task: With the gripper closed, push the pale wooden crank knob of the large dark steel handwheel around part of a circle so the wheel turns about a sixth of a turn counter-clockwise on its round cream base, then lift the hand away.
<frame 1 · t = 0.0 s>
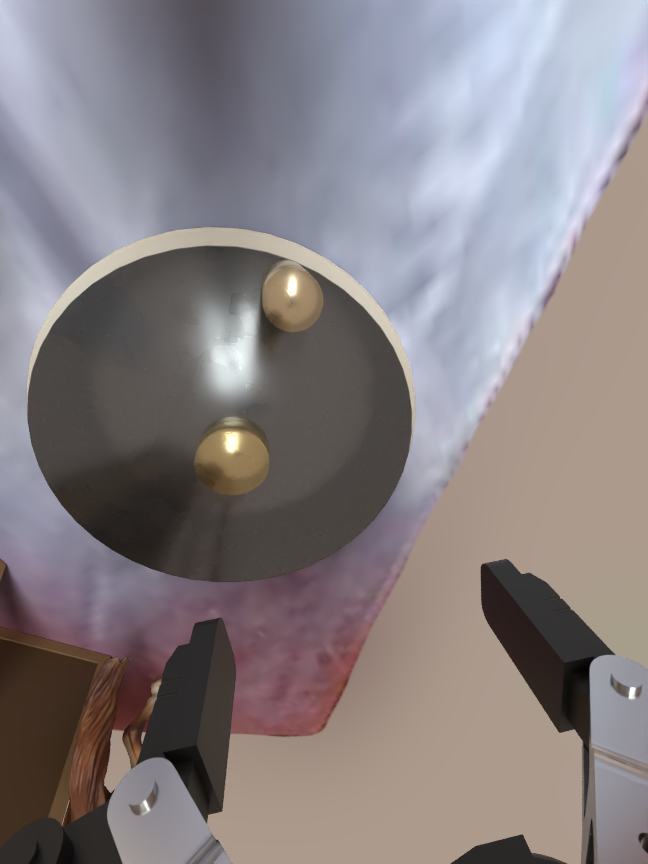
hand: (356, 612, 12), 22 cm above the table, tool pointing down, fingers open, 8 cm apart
handwheel: (232, 463, 28), point 6 cm above the table, hinge at 0.0°
photo frame: (12, 604, 39), on the table
base plate: (237, 424, 33), on the table
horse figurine: (186, 689, 48), on the table
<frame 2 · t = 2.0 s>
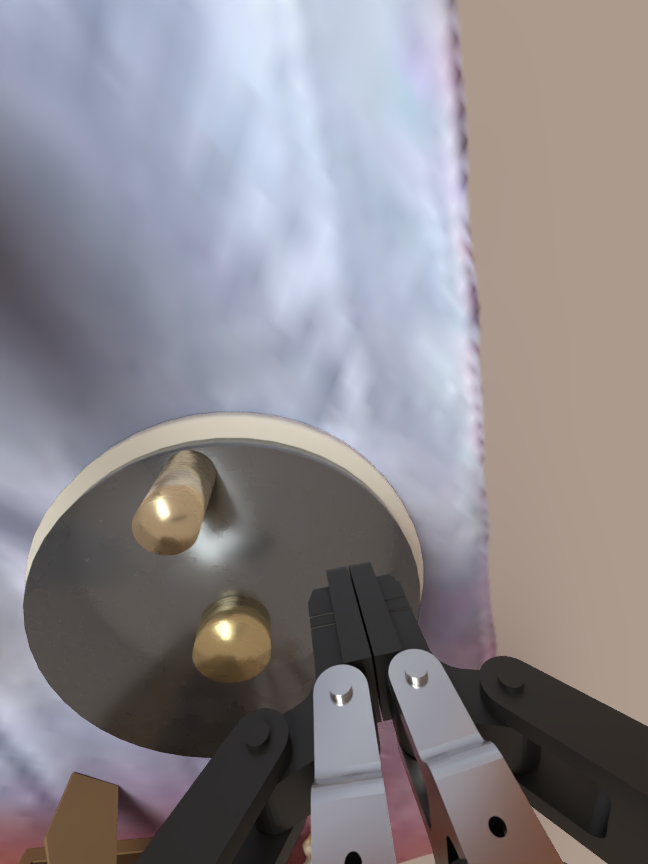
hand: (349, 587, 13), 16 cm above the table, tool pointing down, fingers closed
handwheel: (232, 651, 26), point 6 cm above the table, hinge at 0.0°
photo frame: (143, 815, 40), on the table, touching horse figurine
base plate: (239, 585, 32), on the table
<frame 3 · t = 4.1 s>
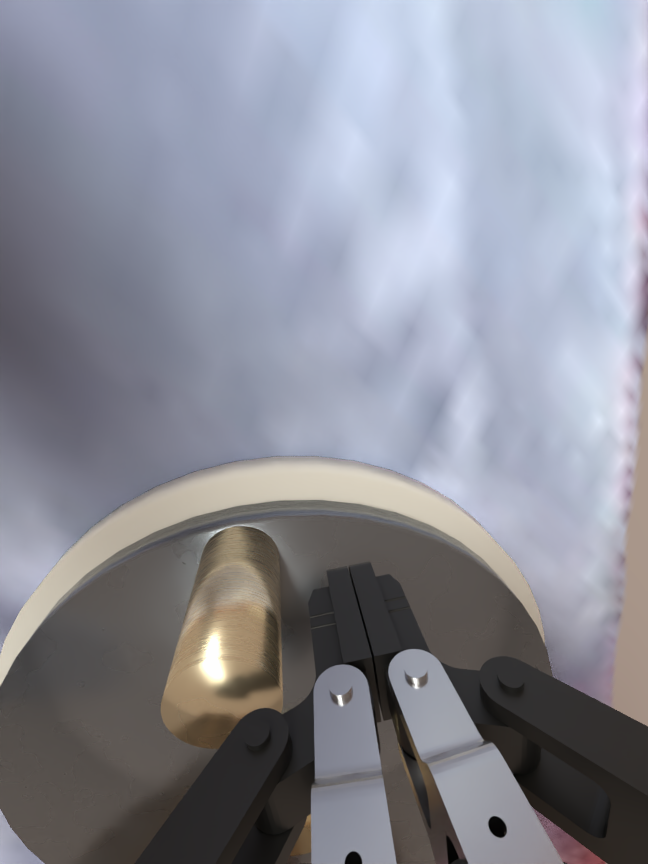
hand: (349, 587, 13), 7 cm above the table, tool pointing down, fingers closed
handwheel: (296, 814, 18), point 6 cm above the table, hinge at 0.0°, touching gripper
base plate: (290, 684, 24), on the table
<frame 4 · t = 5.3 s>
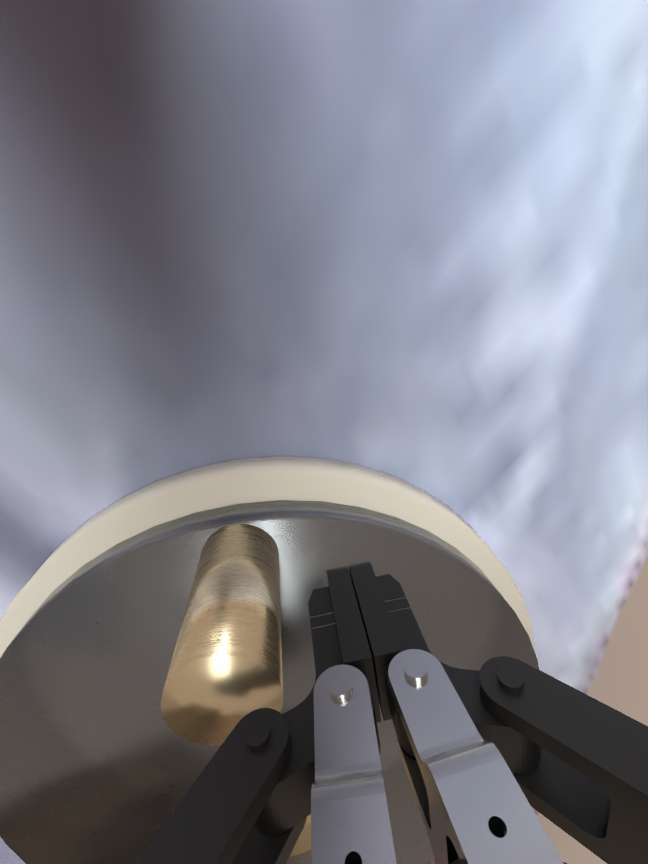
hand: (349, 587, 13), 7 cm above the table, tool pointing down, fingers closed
handwheel: (282, 816, 18), point 6 cm above the table, hinge at 15.0°, touching gripper
base plate: (279, 685, 23), on the table
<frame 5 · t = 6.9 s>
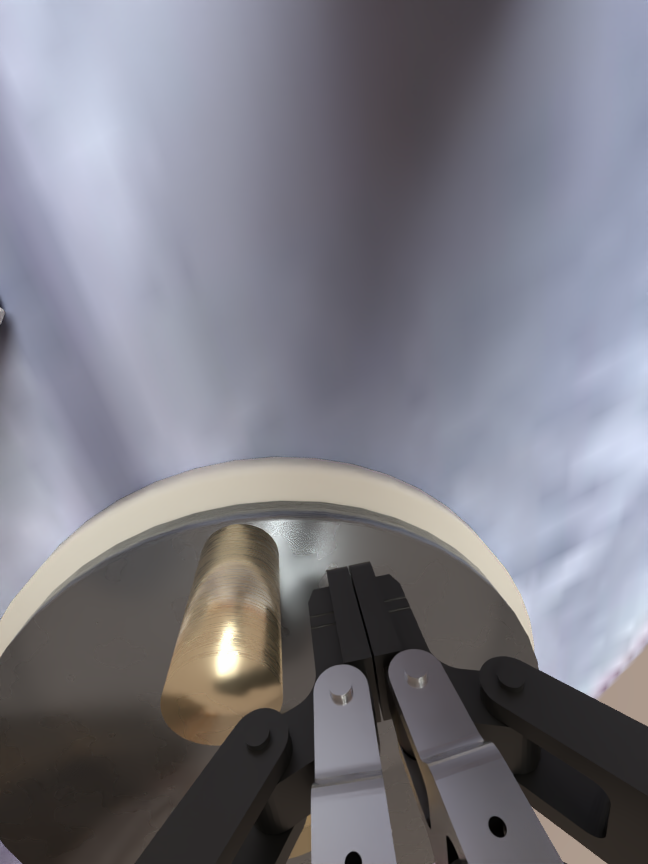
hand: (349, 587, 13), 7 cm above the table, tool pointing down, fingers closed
handwheel: (281, 818, 18), point 6 cm above the table, hinge at 36.9°, touching gripper
base plate: (279, 687, 23), on the table
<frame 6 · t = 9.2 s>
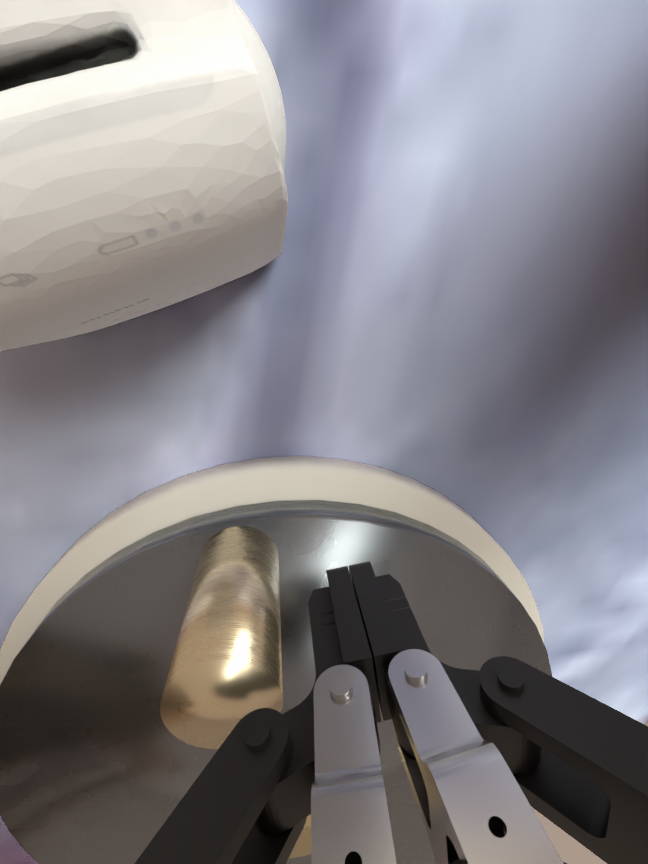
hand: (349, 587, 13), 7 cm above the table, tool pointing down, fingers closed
handwheel: (296, 816, 18), point 6 cm above the table, hinge at 65.0°, touching gripper
photo printer: (154, 252, 16), on the table
base plate: (289, 685, 24), on the table
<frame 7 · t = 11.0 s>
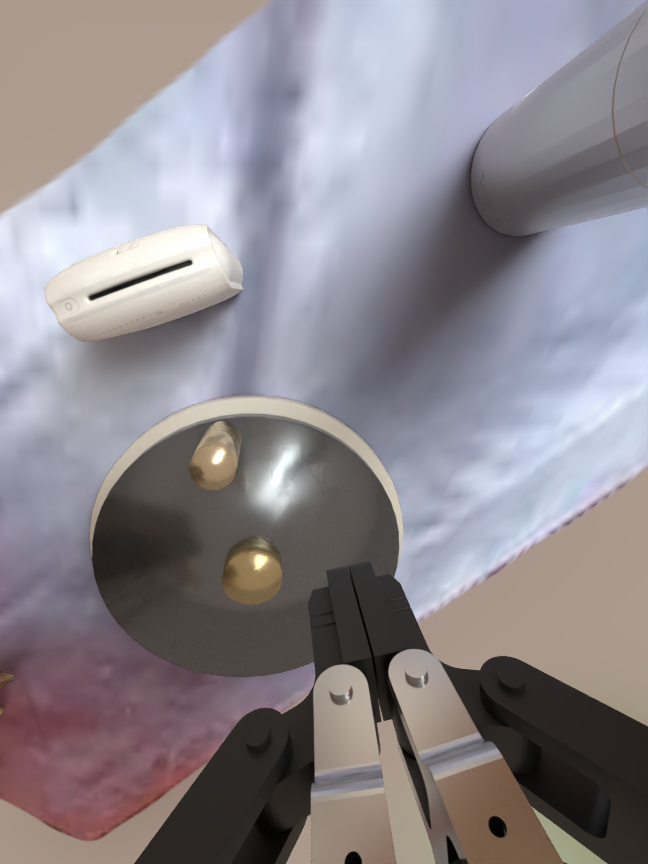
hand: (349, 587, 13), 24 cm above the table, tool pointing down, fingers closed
handwheel: (252, 578, 34), point 6 cm above the table, hinge at 65.1°
photo printer: (181, 288, 32), on the table
base plate: (255, 537, 40), on the table
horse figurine: (8, 729, 44), on the table, touching photo frame
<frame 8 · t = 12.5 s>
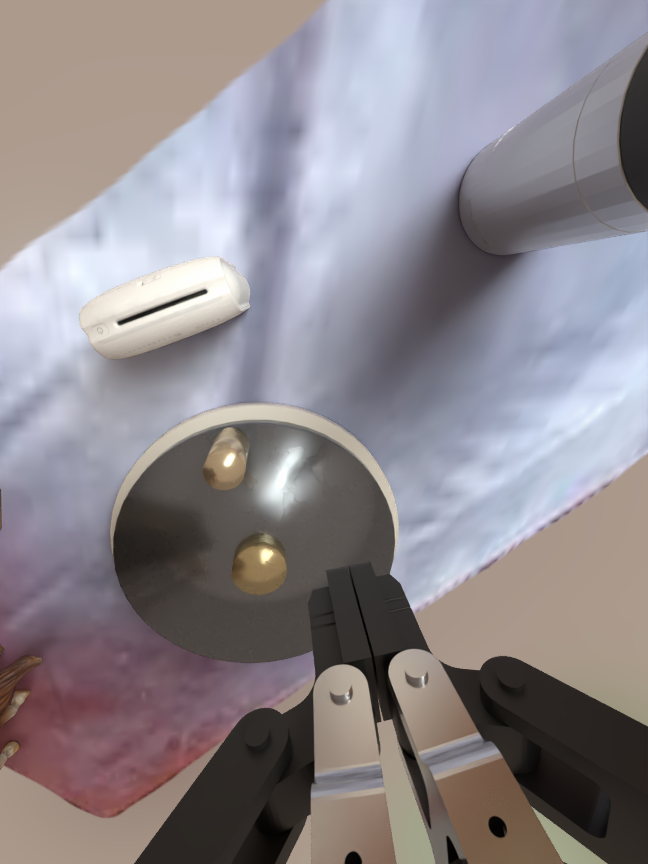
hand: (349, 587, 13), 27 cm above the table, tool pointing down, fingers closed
handwheel: (259, 571, 37), point 6 cm above the table, hinge at 65.1°
photo printer: (193, 305, 35), on the table
base plate: (261, 533, 43), on the table
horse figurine: (32, 711, 47), on the table, touching photo frame
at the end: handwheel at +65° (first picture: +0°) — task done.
